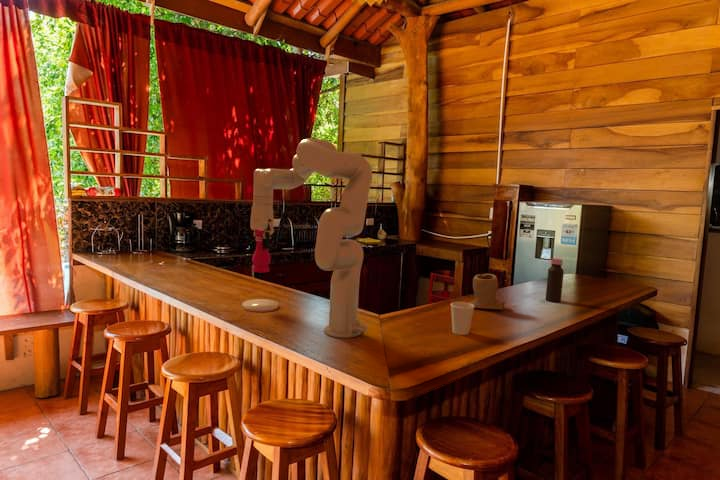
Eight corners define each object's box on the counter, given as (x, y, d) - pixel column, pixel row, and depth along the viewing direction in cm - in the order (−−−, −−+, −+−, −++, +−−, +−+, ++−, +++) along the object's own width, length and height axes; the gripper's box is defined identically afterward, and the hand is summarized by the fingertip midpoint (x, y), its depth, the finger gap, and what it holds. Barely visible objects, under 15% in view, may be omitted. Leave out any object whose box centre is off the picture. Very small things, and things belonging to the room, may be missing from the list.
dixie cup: (455, 327, 174) (457, 300, 172) (476, 332, 168) (478, 305, 167) (444, 332, 167) (446, 304, 166) (465, 337, 162) (468, 309, 161)
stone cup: (469, 310, 200) (471, 275, 198) (468, 303, 211) (471, 270, 210) (506, 314, 197) (509, 278, 195) (504, 307, 208) (507, 273, 206)
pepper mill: (273, 270, 189) (275, 220, 187) (265, 273, 182) (266, 221, 180) (257, 268, 191) (258, 219, 189) (248, 271, 184) (249, 220, 182)
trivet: (285, 306, 191) (285, 302, 191) (262, 313, 179) (262, 309, 179) (258, 300, 198) (258, 297, 198) (234, 307, 186) (234, 303, 186)
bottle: (558, 299, 229) (562, 258, 226) (562, 303, 222) (566, 260, 220) (543, 298, 229) (547, 257, 227) (547, 302, 223) (551, 259, 220)
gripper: (243, 199, 187) (242, 245, 189) (266, 202, 175) (265, 251, 177) (259, 200, 192) (258, 244, 194) (283, 202, 180) (282, 250, 182)
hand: (261, 247), depth 186 cm, fingers closed on pepper mill, 5 cm apart
